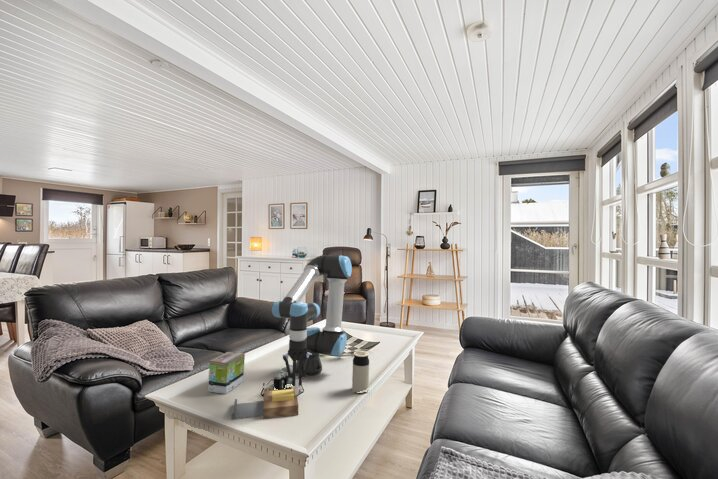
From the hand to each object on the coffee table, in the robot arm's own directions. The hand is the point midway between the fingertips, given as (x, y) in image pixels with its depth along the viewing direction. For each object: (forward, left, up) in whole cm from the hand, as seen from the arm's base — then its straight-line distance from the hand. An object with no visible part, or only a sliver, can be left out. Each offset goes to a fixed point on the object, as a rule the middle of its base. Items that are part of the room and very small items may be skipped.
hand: (296, 393), depth 144 cm
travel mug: (-31, -9, -6) cm, 33 cm away
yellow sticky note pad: (+6, 0, -1) cm, 6 cm away
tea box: (+32, -26, -6) cm, 41 cm away
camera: (+3, -18, -6) cm, 19 cm away
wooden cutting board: (+7, 0, -5) cm, 9 cm away
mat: (+20, 0, -5) cm, 20 cm away
